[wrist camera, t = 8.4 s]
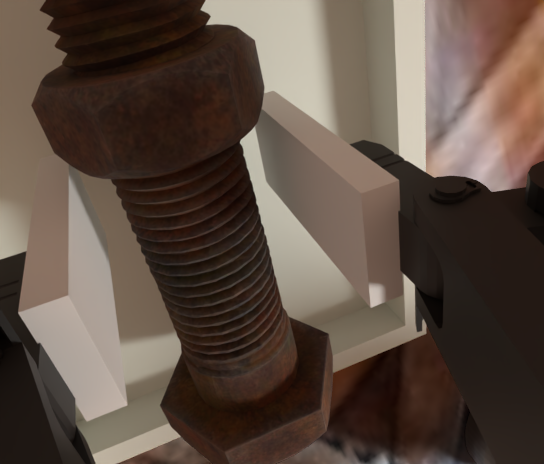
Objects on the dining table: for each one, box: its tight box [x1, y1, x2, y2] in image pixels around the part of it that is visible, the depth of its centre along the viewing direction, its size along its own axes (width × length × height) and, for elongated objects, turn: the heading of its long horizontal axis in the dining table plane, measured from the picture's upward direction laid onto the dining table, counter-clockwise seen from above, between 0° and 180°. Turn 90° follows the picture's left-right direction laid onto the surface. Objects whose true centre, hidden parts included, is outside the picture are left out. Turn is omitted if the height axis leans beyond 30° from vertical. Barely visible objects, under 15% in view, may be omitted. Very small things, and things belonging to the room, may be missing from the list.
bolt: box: [31, 0, 333, 464], centre depth 12 cm, size 6×5×15 cm
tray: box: [0, 0, 426, 464], centre depth 15 cm, size 16×21×3 cm
